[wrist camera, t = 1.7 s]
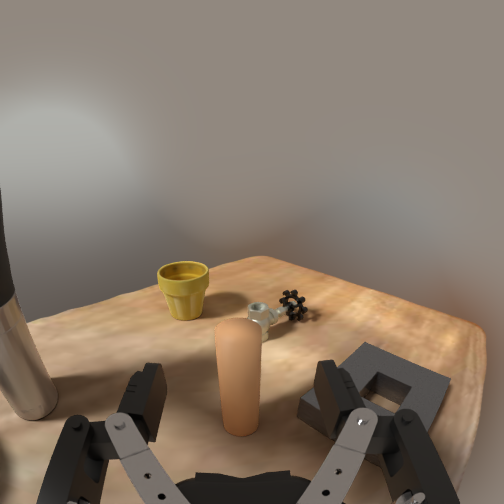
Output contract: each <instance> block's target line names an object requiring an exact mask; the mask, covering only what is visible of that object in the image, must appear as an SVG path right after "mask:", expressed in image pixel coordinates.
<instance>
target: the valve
mask: <svg viewBox="0 0 504 504" xmlns="http://www.w3.org/2000/svg"><path fill="white" fill-rule="evenodd" d="M290 293H292V294H290ZM297 294H298V292H297V290H293V291H291V292H289V291H288V290H286V291H284V292H283V295H285V296H286V297H285V298H284V297H283V298H281V299H280V300H279V302H280V303H281V304H282V303H283V307H279V308H277V309H275V310H274V309H272V308H269V307H268V305H267V304H265V303H262V302H254V303H251V304H250V305H248V317H247V319H250V320H253V321H255V322H257V323H258V324H259V325H260V326H261V328H262V343H263V342H264V341H266V340H268V329H269V327H270V325H273V324H275V323H277V322H278V317H282V316H284V315H285V314H286V315H287V316H289V320H291V321H292V320H294V319H295V318H296V316H297V317H298V318H297V320H298V321H300V320H302V319H303V315H302V314H304V313H306V312H307V311H308V309H307V308H306V307H303V305H302V303H303V302H305V298H304V297H300V298H299V297H298V296H297ZM289 298H293V299H295V300H296V301H297V303H298V304H296V302H295V301H292V302H288V299H289ZM297 307H299V311H298V312H297V313H295V312H293V311H294V310H295V309H297ZM301 313H302V314H301Z"/></svg>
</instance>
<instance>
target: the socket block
mask: <svg viewBox="0 0 504 504" xmlns="http://www.w3.org/2000/svg"><path fill="white" fill-rule="evenodd" d="M337 368H344V369H345V370H346V371H347V372H348V373H350V375H351V377H352V379H353V382H354V384H355V386H356V388H357V390H358V392H359V394H360V396H361V398H362V400H363V402H364V404H365V406H366V408H368V409H371V410H372V411H374V412H375V413H376V415H379V416H394V415H395V414H394V413H392V412H390V411H388V410H386V409H384V408H382V407H380V406H378V405H376V404H374V403H372V402H370V401H368V400H367V399H365V398H364V397H365V396H366V395H367V394H368V393H369V392H370V390H371V391H373V392H375V393H377V394H379V395H381V396H383V397H385V398H387V399H389V400H391V401H393V402H395V403H397V404H399V405H401V406H400V407H399V409H398V410H397V411H399V410H401V409H411V410H413V411H415V412H416V413H417V414H418V415H419V417H420V419H421V421H422V423H423V425H424V427H425V429H426V431H427V432H428V430H429V428H430V426H431V424H432V422H433V420H434V418H435V415H436V413H437V411H438V409H439V407H440V404H441V402H442V400H443V398H444V395H445V393H446V390H447V388H448V385H449V383H450V380H451V378H448V377H446V376H443V375H441V374H438V373H436V372H433V371H431V370H429V369H426V368H424V367H421V366H419V365H417V364H414V363H412V362H410V361H407V360H405V359H403V358H400V357H398V356H396V355H393V354H391V353H389V352H386V351H384V350H382V349H380V348H377V347H375V346H373V345H371V344H368V343H366V342H364V343H363V344H362V345H361V346H360V347H359V348H358V349H357V350H356V351H355V352H354V353H353V354H352V355H350V356H349V357H348V358H347V359H346V360H345V361H344V362H343V363H342V364H341V365H339V366H338V367H337ZM297 417H298V418H300V419H301V420H303V421H304V422H306V423H307V424H309V425H310V426H312V427H313V428H315V429H316V430H318V431H319V432H321V433H322V434H324V435H326V436H327V437H329V435H328V432H327V429H326V426H325V423H324V420H323V416H322V413H321V410H320V407H319V404H318V401H317V398H316V395H315V391H314V387H313V388H312V389H311V390H310V391H308V392H307V393H306V394H305V395H303V396H302V397H301V398H300V403H299V408H298V413H297ZM332 440H334V441H335V442H336V441H337V438H333V439H332ZM364 459H366V460H368V461H370V462H372V463H374V464H376V465H377V466H379V467H381V464H380V461H379V458H378V455H377V454H365V457H364ZM381 468H382V467H381Z"/></svg>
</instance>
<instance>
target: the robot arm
mask: <svg viewBox="0 0 504 504" xmlns="http://www.w3.org/2000/svg"><path fill="white" fill-rule="evenodd" d="M0 390H1V392H2V393H3V395H4V396H5V398H6V399H7V401H8V402H9V404H10V405H11V407H12V408H13V410H14V411H15V413H16V414H17V415H18V416H19V417H21V418H23V419H26V420H38V419H40V418H43V417H45V416H46V415H48V414H49V413H50V412H51V411H52V410H53V409H54V407H55V405H56V403H57V400H58V392H57V389H56V388H55V386H54V384H53V382H52V380H51V378H50V376H49V374H48V372H47V370H46V368H45V366H44V364H43V362H42V360H41V357H40V355H39V353H38V351H37V348H36V346H35V344H34V341H33V339H32V337H31V334H30V332H29V329H28V326H27V324H26V321H25V318H24V315H23V313H22V310H21V307H20V305H19V301H18V298H17V294H16V291H15V288H14V284H13V280H12V276H11V270H10V264H9V258H8V254H7V248H6V242H5V235H4V226H3V213H2V201H1V190H0ZM314 391H315V395H316V398H317V401H318V404H319V407H320V410H321V413H322V416H323V420H324V423H325V426H326V429H327V432H328V435H329V438H330V439H333V438H337V441H336V443H335V444H334V445H333V447H332V448H331V450H330V452H329V454H328V455H327V457H326V459H325V461H324V462H323V464H322V466H321V467H320V469H319V470H318V472H317V474H316V475H315V477H314V478H313V480H312V481H310V480H308V479H305V478H302V477H298V476H291V475H290V470H288V471H278V472H266V473H263V474H259V475H255V476H251V477H247V478H238V477H233V476H228V475H223V474H219V473H197V472H196V475H195V478H190V479H186V480H183V481H181V482H179V483H177V484H174V483H173V481H172V480H171V479H170V477H169V476H168V475H167V473H166V472H165V470H164V469H163V467H162V466H161V465H160V463H159V462H158V460H157V459H156V457H155V456H154V454H153V453H152V451H151V450H150V448H149V447H148V446H147V445H148V441H149V442H156V437H157V433H158V428H159V424H160V420H161V416H162V411H163V407H164V403H165V399H166V395H167V384H166V380H165V377H164V373H163V369H162V365H161V364H158V363H146V364H145V367H144V369H143V372H140V371H137V372H136V373H135V374H134V375H133V376H132V377H131V378H130V381H129V383H128V386H127V388H126V392H125V393H124V395H123V398H122V400H121V403H120V405H119V408H118V410H117V413H114V414H112V415H110V416H109V417H108V418H107V419H106V421H98V422H89V421H88V419H87V418H86V417H84V416H82V415H74V416H71V417H70V418H68V419H67V420H66V422H65V424H64V427H63V429H62V432H61V434H60V436H59V439H58V441H57V444H56V447H55V449H54V452H53V454H52V457H51V460H50V463H49V465H48V468H47V471H46V474H45V477H44V480H43V483H42V486H41V490H40V493H39V496H38V500H37V503H36V504H100V500H101V495H102V490H103V485H104V480H105V476H106V471H107V467H108V463H109V460H111V459H120V462H121V464H122V466H123V467H124V469H125V471H126V473H127V475H128V477H129V478H130V480H131V482H132V483H133V485H134V487H135V489H136V490H137V492H138V493H139V495H140V497H141V498H142V500H143V501H144V503H145V504H345V503H344V502H342V501H343V499H344V498H345V496H346V494H347V492H348V490H349V488H350V486H351V484H352V482H353V480H354V478H355V476H356V474H357V472H358V470H359V468H360V466H361V464H362V461H363V459H364V457H365V454H377V455H378V458H379V461H380V464H381V467H382V470H383V473H384V476H385V479H386V482H387V485H388V489H389V492H390V495H391V498H392V501H393V503H392V504H460V502H459V499H458V497H457V494H456V492H455V490H454V487H453V485H452V483H451V481H450V478H449V476H448V474H447V472H446V469H445V467H444V465H443V463H442V461H441V459H440V457H439V455H438V453H437V451H436V449H435V446H434V444H433V442H432V440H431V438H430V437H429V435H428V433H427V431H426V429H425V427H424V425H423V423H422V421H421V419H420V417H419V415H418V414H417V413H416V412H415V411H413V410H411V409H401V410H399V411H397V412H396V413H395V415H394V416H379V415H376V413H375V412H374V411H372V410H371V409H368V408H366V406H365V404H364V402H363V400H362V398H361V396H360V394H359V392H358V390H357V388H356V386H355V384H354V382H353V379H352V377H351V375H350V373H348V372H347V371H346V370H345V369H344V368H337V367H336V364H335V362H334V360H324V361H319V362H318V364H317V369H316V374H315V379H314Z"/></svg>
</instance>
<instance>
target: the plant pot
mask: <svg viewBox="0 0 504 504" xmlns="http://www.w3.org/2000/svg"><path fill="white" fill-rule="evenodd" d="M157 276H158V284H159V288H160V290H161V291H162V292H163V293H164V296H165V298H166V301H167V304H168V307H169V310H170V312H171V315H172V316H173V317H174V318H175V319H178V320H185V321H186V320H192V319H195V318H197V317H199V316H200V315H201V313H202V308H203V302H204V296H205V290H206V289H207V287H208V286H209V269H208V267H207V266H206V265H204V264H202V263H198V262H192V261H182V262H174V263H170V264H167V265H165V266H163V267H161V268H160V269H159V271H158V274H157Z"/></svg>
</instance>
